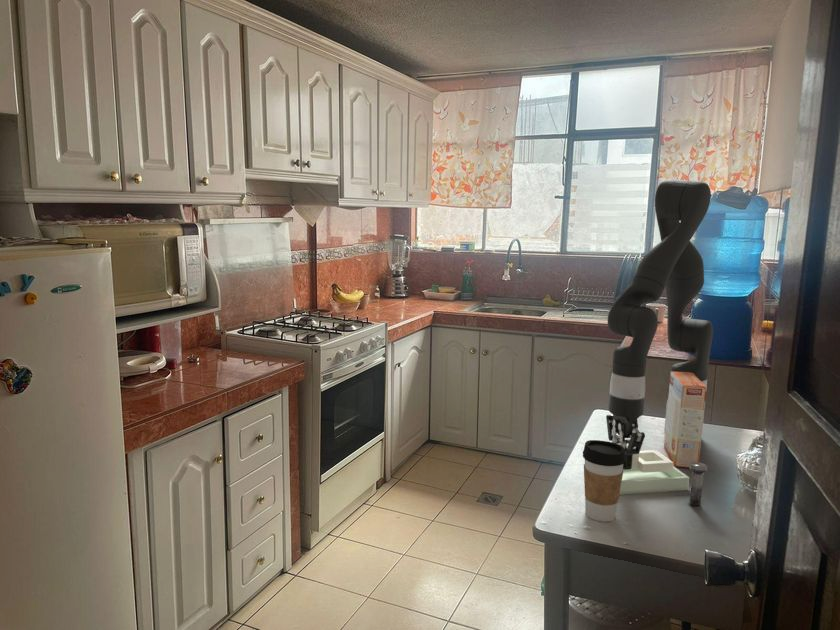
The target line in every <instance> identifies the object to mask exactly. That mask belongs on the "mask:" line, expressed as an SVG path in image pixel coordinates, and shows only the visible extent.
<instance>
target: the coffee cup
mask: <svg viewBox="0 0 840 630" xmlns="http://www.w3.org/2000/svg"><path fill="white" fill-rule="evenodd" d="M582 458H583V459H584V465H583V476H584V477H583V478H584V482H583V483H584V484H583V485H584V502H585V503H584V504H585V505H584V507H585V514H586V516H587V517H588V518H589V519H592V520H593V521H597V522H604V523H605V522H606V523H607V522H611V521H613V520H615V519H616V514H617V509H618V503H619V499H620V495H619V493H620V487H621V482H622V476H623V464H624V463H625V462H626V455H625V449H624V447H622V446H621V445H619V444H616V443H612V441H609V440H608V441H606V440H597V439H590V440H589V439H588V440H587V441H585V443H584V446H583V451H582Z"/></svg>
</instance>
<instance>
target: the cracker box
mask: <svg viewBox="0 0 840 630" xmlns="http://www.w3.org/2000/svg"><path fill="white" fill-rule="evenodd" d="M669 377H670V378H669V388H668V389H669V390H668V397H667V398H668V399H667V400H668V408H667V419H666V430H665V432H664V440H663V441H664V442H663V447H664V449H665V451H666V452H667V455H668V456H669V459H670V460H671V461H672V462H674V463H673V466H674V467H675V468H676V467H677V468H678V467H679V468H687V469H690V463H692V462H700V455H701V446H702V439H703V429H702V428H704V419H703V418H704V417H705V407H706V400H707V399H706V397H707V389H708V387H707V386H705V385H704V384H703V383H702V382H701V381H700V380H699V379H698V378H697V377H696V376H695V375H694V374H693V373H690V372H671V371H670V376H669ZM701 438H702V439H701Z"/></svg>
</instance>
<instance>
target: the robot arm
mask: <svg viewBox="0 0 840 630" xmlns="http://www.w3.org/2000/svg"><path fill="white" fill-rule="evenodd" d="M711 193H712V192H711V188H710V185H709V184H708V183H706V182H704V181H697V180H687V179H673V178H672V179H664V180H662V181H661V182H660V183H659V184H658V186H657V188H656V191H655V195H654V210H655V216H656V221H657V227H658V231H659V237H660V242H659V243H657V244H656V245H655V246H653V247H652V248H651V249H650V250H649V251H648V252H646V253H645V255H644V256H643V257H642V258H641V260H640V262H639V264H638V266H637V269H636V271H635V273H634V275H633V277H632V279H631V282H630V284H629V285H628V286H627V288H625V290H624V291H623V293H622V294H621V295H619V297H618V298H617V300H616V301H615V302H614V303H613V304H612V307H610V309H609V312H608V314H607V325H608V328H609V330H610V331H611V332H612V333H613V334H616V335H619V336H625V337H630V338H632V340H631V342H630V345H621V346H618V347H616V348H615V349H614V351H613V356H612V370H611V372H612V373H611V377H610V381H609V382H610V383H609V393H608V394H609V395H608V396H609V397H608V411H609V413H610V414H606V416H605V418H606V427H607V437H608V442H612V443H622V447H624V449H625V455H626V462H625V463H624V464H623V470H629V469H631V468H632V457H633V454H639V452H640V451H641V449H642V446H643V442H644V440H645V438H646V433H645V431H644V432H643V431H642V432H640V430H639V423H638V419H639V418H640V417H642V416H643V415H644V410H645V400H646V399H645V395H646V367H647V366H646V365H647V357H648V354H649V352H650V349H651V346H652V342H653V340H654V338H655V334H656V332H657V329H658V323H659V322H658V321H659V320H658V316H657V314H656V312H655V310H653V308H651V307H648V306H643V304H648V303H654V302H657V301H659V300H660V298H661V297H662V295H663V293H664V290H665V296H666V304H667V325H666V326H667V327H666V328H667V331H666V332H667V343H668V345H669V348H670V349H671V350H673V351H676V352H679V353H680V352H681V353H688V354H694V355H695V357H694V358H692V359H690V360H687V361H683V362H681V361H680V362H677V363H675V364H673V365H672V366H671V368H670V373H671V372H690V373H693V374H694V375H695V376H696V377H697V378H698V379H699V380H700V381H701V382H702V383H703V384H704V385H705V386H706V387H707V386H708V385H707V384H708V374H709V372H708V371H709V365H710V364H709V363H710V356H711V349H712V343H713V337H714V328H713V324H712V322H711V321H710V320H707V319H706V320H705V319H698V318H689V317H683V313H684V311H685V309H687V306H688V305H689V304H691V302H692V301H693V300H694V299H695V298H696V297H697V296H698V295H699V293H700V292H701V290H702V289H703V287H704V284H705V271H704V269H705V267H704V266H705V265H704V260H703V257H702V255H701V253H700V251H699V250H698V248H696V246H695V245H694V243H692V241H691V240H692V238H693V236H694V235H695V233H696V232H697V230H698V228H699V227H700V225H701V223H702V222H703V220H704V219H705V216H706V215H707V213H708V210H709V208H710V204H711V198H712V194H711ZM667 408H668V399H667V400H666V407H665V409H666V410H665V419H664V430H663V431H664V433H665V430H666V419H667ZM703 420H704V418H703ZM703 428H704V427H703ZM703 428H702V430H703ZM702 439H703V437H702V438H701V440H702ZM627 444H628V447H627Z"/></svg>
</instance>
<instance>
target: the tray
mask: <svg viewBox="0 0 840 630" xmlns="http://www.w3.org/2000/svg"><path fill="white" fill-rule="evenodd" d="M650 461H653V460H650ZM689 483H690V477H689V476H688V475H687V474H685V473H684V472H682V471H681V470H679V469H678V467H677V468H676V466H674V465H673V471H661V472H644V473H642V472H641V471H640V470H638V469H629V470H623V476H622V482H621V487H620V493H619V496H623V495H638V494H649V493H650V494H651V493H664V492H665V493H666V492H681V491H688V490H689Z"/></svg>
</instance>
